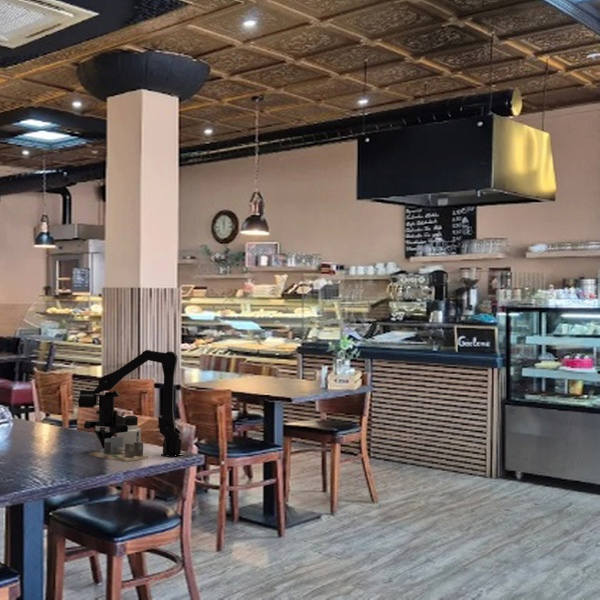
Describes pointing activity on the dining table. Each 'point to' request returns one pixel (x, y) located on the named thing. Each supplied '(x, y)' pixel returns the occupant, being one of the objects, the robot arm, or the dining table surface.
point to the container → (131, 431)
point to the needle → (107, 447)
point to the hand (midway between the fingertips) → (105, 449)
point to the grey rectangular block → (115, 445)
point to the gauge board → (125, 453)
